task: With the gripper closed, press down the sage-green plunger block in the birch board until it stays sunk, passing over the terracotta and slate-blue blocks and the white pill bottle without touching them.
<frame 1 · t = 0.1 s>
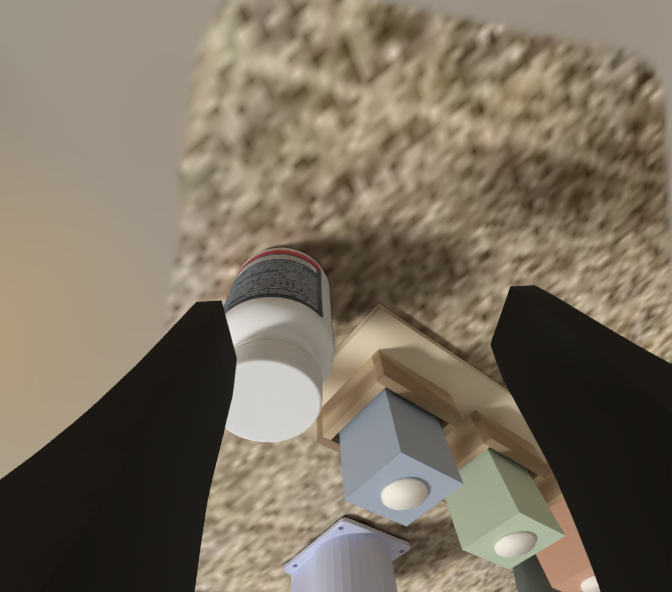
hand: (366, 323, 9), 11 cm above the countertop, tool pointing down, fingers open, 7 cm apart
sage block: (497, 507, 23), point 5 cm above the countertop, slide at 0.0 cm
pill bottle: (283, 287, 21), on the countertop
terracotta block: (577, 547, 26), point 5 cm above the countertop, slide at 0.0 cm
slate-blue block: (395, 456, 21), point 5 cm above the countertop, slide at 0.0 cm
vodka: (550, 558, 37), on the countertop
birch board: (469, 446, 28), on the countertop
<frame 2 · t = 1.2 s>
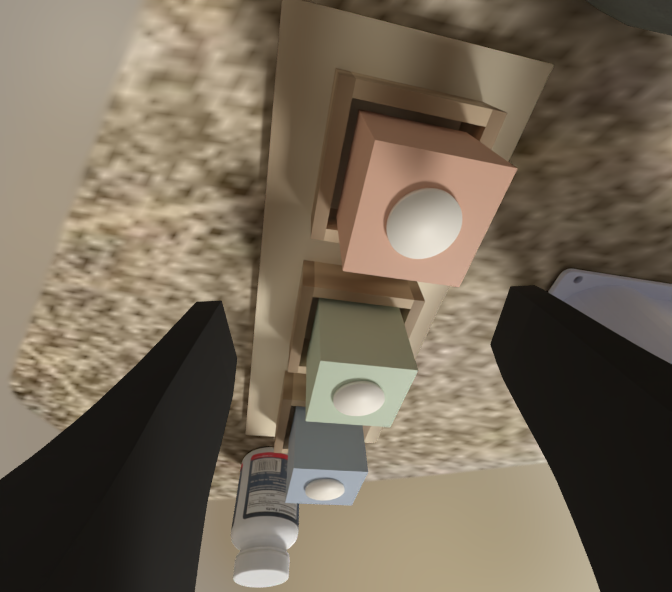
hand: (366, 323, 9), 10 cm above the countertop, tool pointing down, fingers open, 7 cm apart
sage block: (354, 362, 19), point 5 cm above the countertop, slide at 0.0 cm
pill bottle: (271, 458, 33), on the countertop
terracotta block: (408, 198, 13), point 5 cm above the countertop, slide at 0.0 cm
slate-blue block: (324, 454, 24), point 5 cm above the countertop, slide at 0.0 cm
birch board: (347, 305, 22), on the countertop
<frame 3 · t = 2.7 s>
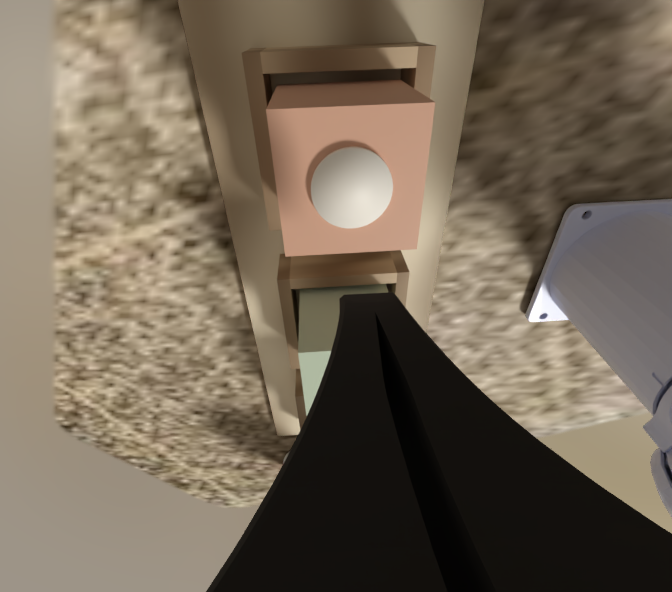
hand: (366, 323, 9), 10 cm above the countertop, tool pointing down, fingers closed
sage block: (347, 349, 18), point 5 cm above the countertop, slide at 0.0 cm
terracotta block: (345, 165, 12), point 5 cm above the countertop, slide at 0.0 cm
birch board: (340, 291, 22), on the countertop
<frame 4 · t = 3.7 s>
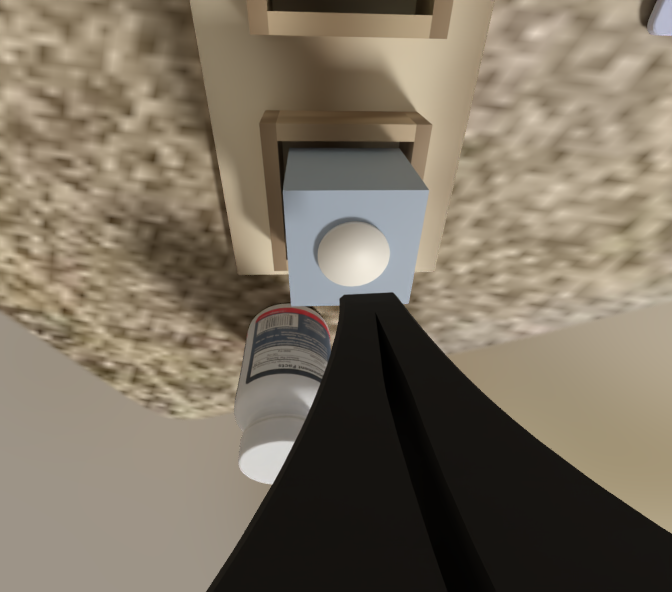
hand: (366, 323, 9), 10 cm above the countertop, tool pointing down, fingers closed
pill bottle: (289, 330, 24), on the countertop
slate-blue block: (347, 225, 14), point 5 cm above the countertop, slide at 0.0 cm
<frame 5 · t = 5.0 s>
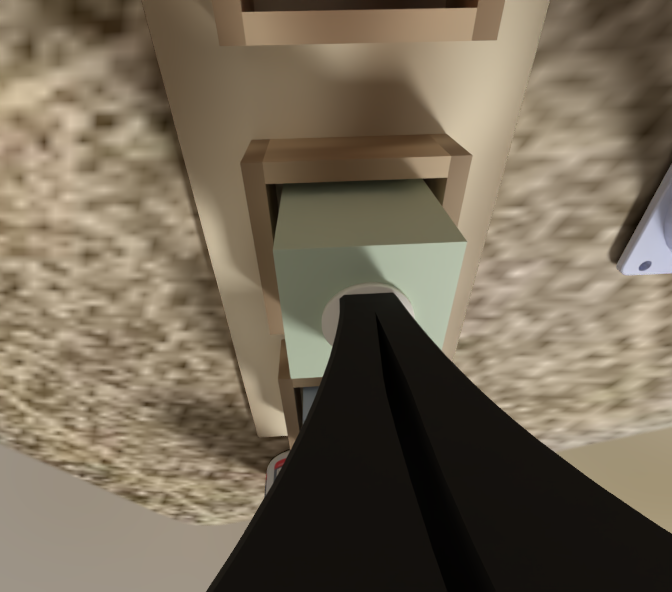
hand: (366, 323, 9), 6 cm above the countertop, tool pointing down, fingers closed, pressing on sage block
sage block: (358, 273, 11), point 4 cm above the countertop, slide at 0.9 cm, touching gripper
pill bottle: (304, 462, 26), on the countertop
slate-blue block: (355, 453, 16), point 5 cm above the countertop, slide at 0.0 cm
birch board: (347, 218, 14), on the countertop
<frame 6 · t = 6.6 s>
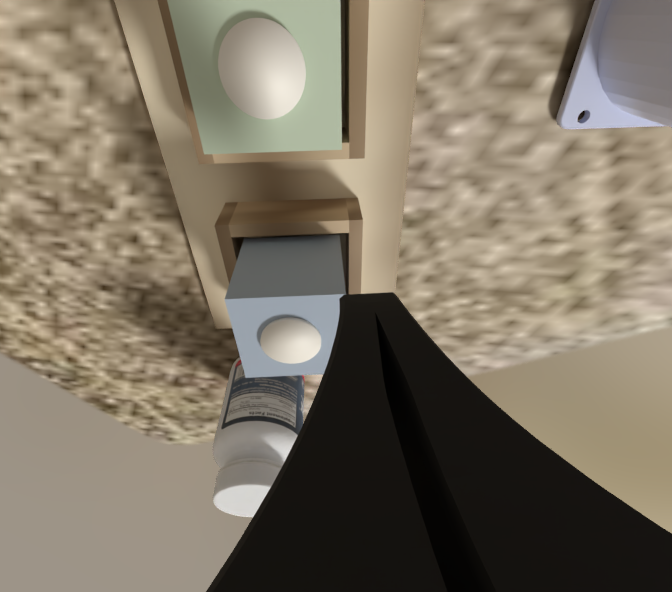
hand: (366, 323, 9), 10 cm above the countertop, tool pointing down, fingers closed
sage block: (270, 63, 12), point 3 cm above the countertop, slide at 1.6 cm
pill bottle: (268, 369, 26), on the countertop
slate-blue block: (293, 305, 16), point 5 cm above the countertop, slide at 0.0 cm
birch board: (278, 55, 14), on the countertop
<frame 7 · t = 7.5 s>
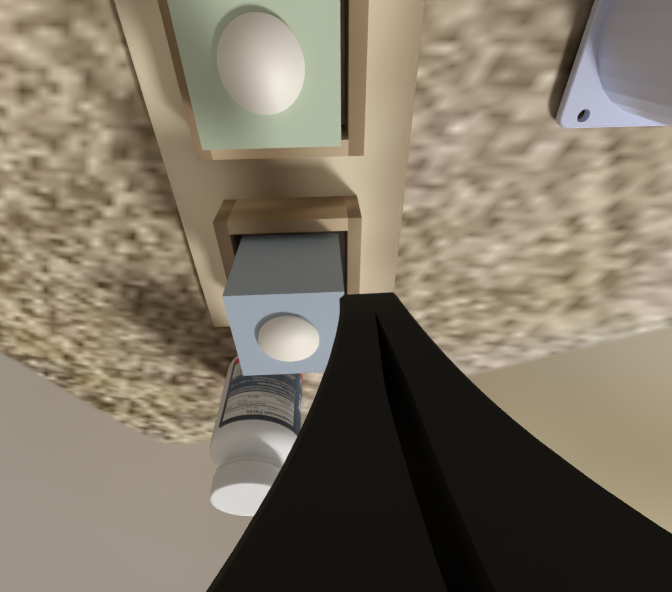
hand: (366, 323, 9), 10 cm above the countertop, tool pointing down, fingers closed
sage block: (270, 59, 12), point 3 cm above the countertop, slide at 1.6 cm
pill bottle: (266, 368, 26), on the countertop
slate-blue block: (292, 303, 16), point 5 cm above the countertop, slide at 0.0 cm
birch board: (278, 51, 14), on the countertop
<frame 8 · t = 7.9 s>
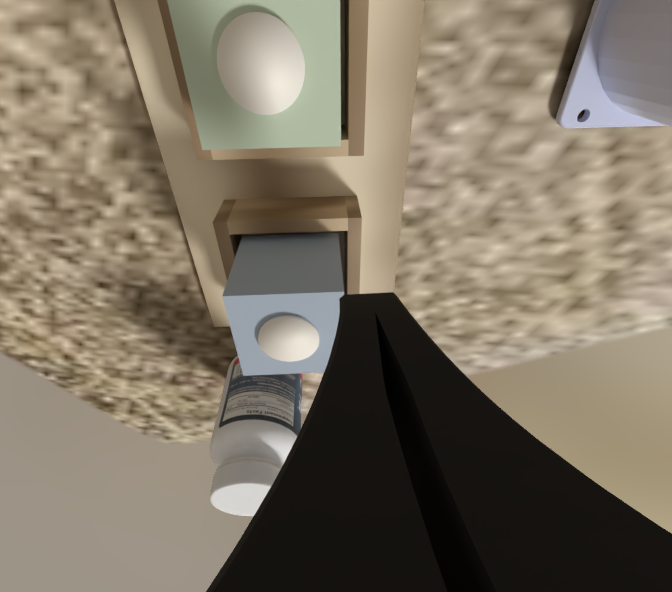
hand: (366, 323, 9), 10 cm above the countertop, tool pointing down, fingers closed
sage block: (270, 59, 12), point 3 cm above the countertop, slide at 1.6 cm
pill bottle: (266, 368, 26), on the countertop
slate-blue block: (292, 303, 16), point 5 cm above the countertop, slide at 0.0 cm
birch board: (278, 51, 14), on the countertop
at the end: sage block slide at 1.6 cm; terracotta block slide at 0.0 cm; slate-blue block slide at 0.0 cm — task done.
